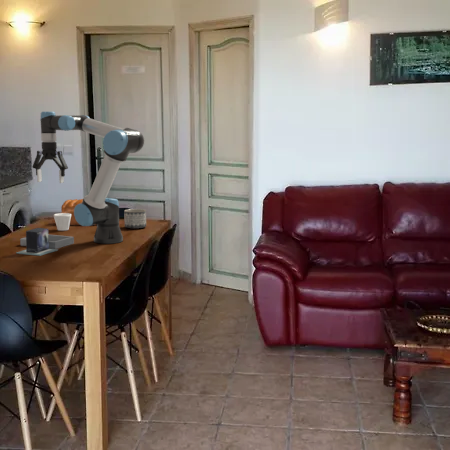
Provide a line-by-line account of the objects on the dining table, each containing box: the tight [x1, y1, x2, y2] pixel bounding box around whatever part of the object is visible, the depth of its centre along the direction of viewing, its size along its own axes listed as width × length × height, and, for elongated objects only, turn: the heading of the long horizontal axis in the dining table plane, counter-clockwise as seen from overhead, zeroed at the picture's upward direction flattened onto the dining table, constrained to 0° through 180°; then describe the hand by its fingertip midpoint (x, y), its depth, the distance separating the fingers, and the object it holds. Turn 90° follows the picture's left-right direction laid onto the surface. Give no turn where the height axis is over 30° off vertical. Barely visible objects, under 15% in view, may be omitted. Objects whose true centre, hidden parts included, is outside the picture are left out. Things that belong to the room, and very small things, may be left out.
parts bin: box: [19, 234, 75, 249], centre depth 339 cm, size 22×16×4 cm
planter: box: [123, 208, 147, 230], centre depth 389 cm, size 13×13×10 cm
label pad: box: [16, 248, 59, 257], centre depth 321 cm, size 14×14×1 cm
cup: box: [53, 212, 71, 232], centre depth 380 cm, size 10×10×9 cm
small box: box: [25, 227, 50, 253], centre depth 320 cm, size 11×6×10 cm, turn 163°
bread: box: [60, 198, 97, 226], centre depth 402 cm, size 14×26×16 cm, turn 92°
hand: (50, 182), depth 346 cm, fingers open, 13 cm apart
